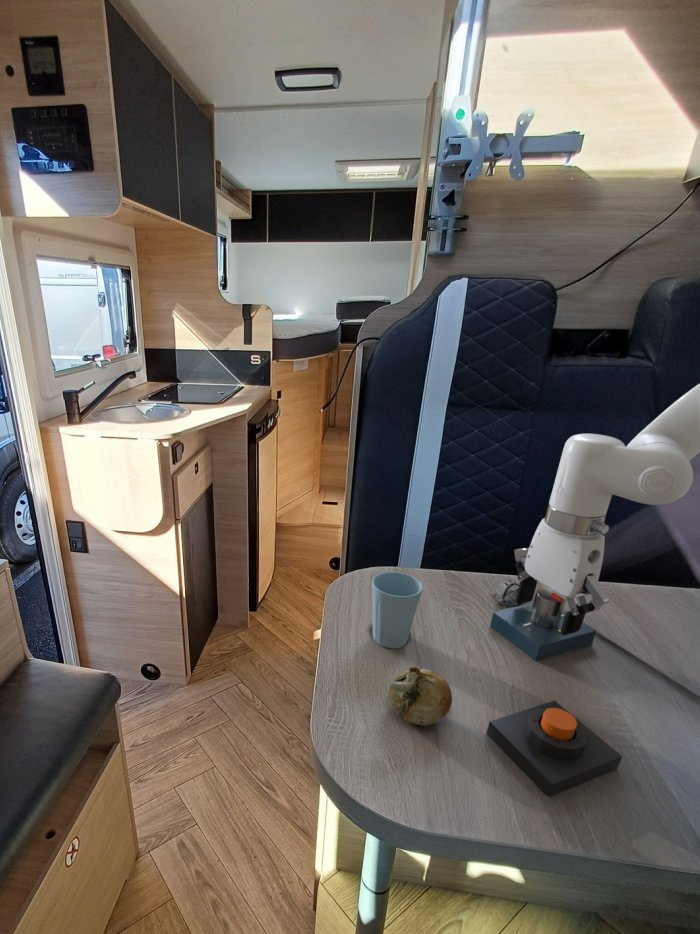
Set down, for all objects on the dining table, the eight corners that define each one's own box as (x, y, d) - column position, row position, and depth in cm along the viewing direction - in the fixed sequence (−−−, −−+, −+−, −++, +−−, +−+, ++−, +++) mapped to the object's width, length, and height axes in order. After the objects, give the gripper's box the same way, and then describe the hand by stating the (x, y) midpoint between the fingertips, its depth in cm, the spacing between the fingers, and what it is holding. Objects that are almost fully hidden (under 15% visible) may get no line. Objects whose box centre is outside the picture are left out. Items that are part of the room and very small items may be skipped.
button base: (550, 712, 70) (557, 689, 69) (617, 769, 62) (627, 745, 60) (485, 734, 67) (492, 710, 65) (547, 797, 58) (556, 772, 57)
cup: (362, 624, 88) (368, 570, 84) (407, 625, 88) (415, 571, 84) (369, 652, 81) (376, 596, 77) (418, 653, 82) (428, 597, 77)
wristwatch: (512, 613, 94) (532, 594, 94) (495, 597, 93) (516, 577, 92) (503, 606, 97) (522, 587, 96) (486, 590, 96) (506, 571, 95)
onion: (439, 745, 65) (450, 696, 61) (378, 722, 68) (385, 674, 65) (452, 707, 71) (462, 661, 67) (395, 688, 74) (402, 642, 71)
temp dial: (523, 616, 86) (530, 588, 84) (543, 611, 87) (551, 584, 85) (544, 630, 82) (552, 602, 80) (565, 625, 84) (573, 597, 81)
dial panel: (543, 613, 92) (547, 598, 91) (591, 645, 84) (597, 629, 83) (489, 626, 88) (493, 611, 87) (535, 661, 80) (540, 645, 79)
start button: (555, 715, 65) (559, 704, 64) (580, 736, 62) (584, 725, 61) (533, 722, 64) (537, 712, 63) (557, 744, 61) (561, 733, 60)
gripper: (646, 539, 71) (609, 642, 78) (546, 496, 85) (523, 586, 93) (607, 547, 68) (572, 652, 76) (511, 502, 83) (489, 594, 90)
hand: (545, 616), depth 84 cm, fingers open, 9 cm apart
